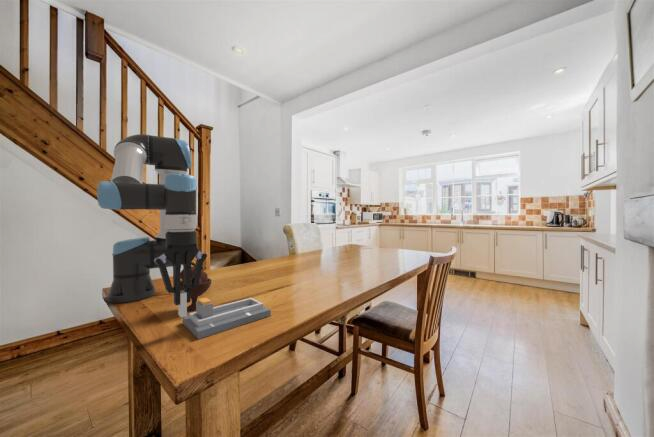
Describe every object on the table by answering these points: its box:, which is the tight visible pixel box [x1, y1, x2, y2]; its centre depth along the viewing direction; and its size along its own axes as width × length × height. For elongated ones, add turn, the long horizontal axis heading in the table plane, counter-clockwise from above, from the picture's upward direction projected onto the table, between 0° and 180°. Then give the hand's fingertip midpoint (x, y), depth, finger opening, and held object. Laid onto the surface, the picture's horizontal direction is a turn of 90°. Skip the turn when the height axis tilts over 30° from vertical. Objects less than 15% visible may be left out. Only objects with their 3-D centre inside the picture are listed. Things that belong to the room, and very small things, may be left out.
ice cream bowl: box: [180, 265, 212, 313], centre depth 89 cm, size 11×11×15 cm
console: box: [182, 297, 272, 340], centre depth 79 cm, size 14×22×4 cm, turn 135°
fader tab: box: [195, 297, 214, 319], centre depth 75 cm, size 5×3×6 cm, turn 45°
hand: (182, 315), depth 70 cm, fingers closed
